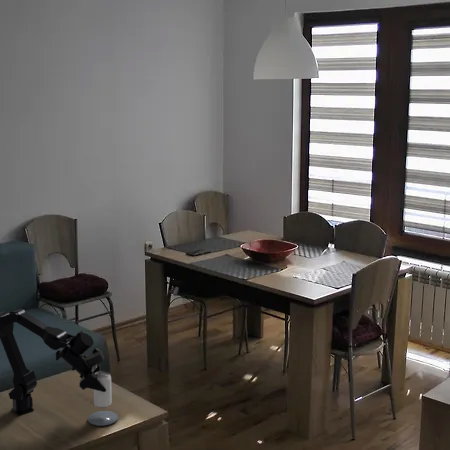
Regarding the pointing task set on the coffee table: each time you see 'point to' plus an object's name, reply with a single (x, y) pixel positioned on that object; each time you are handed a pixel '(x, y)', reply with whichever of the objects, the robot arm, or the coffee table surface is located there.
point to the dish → (102, 418)
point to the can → (103, 397)
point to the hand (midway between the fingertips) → (106, 387)
